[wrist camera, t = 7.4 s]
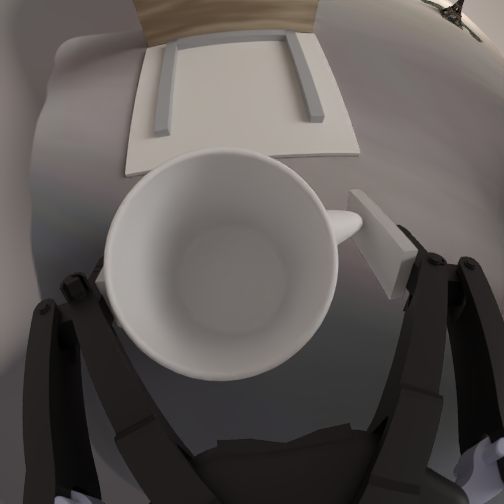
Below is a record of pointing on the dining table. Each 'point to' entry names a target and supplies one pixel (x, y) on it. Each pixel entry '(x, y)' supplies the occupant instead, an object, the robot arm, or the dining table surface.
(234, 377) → the mug
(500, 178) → the dining table surface
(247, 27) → the overhang shelf
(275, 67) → the seat plate
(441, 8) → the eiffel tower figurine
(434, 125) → the dining table surface
